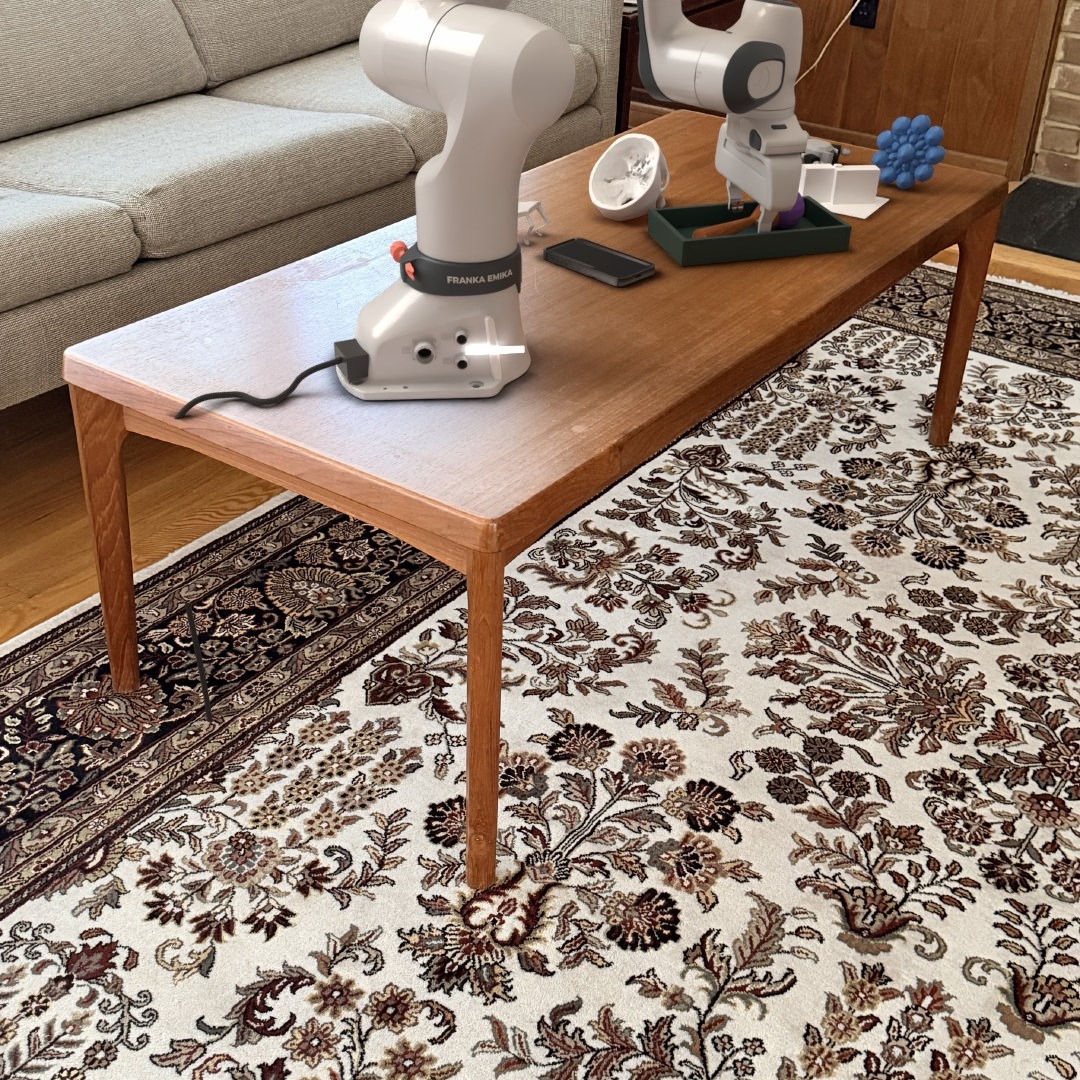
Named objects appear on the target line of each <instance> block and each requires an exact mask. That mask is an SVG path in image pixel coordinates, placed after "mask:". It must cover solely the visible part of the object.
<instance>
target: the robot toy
mask: <svg viewBox="0 0 1080 1080" xmlns="http://www.w3.org/2000/svg"><path fill="white" fill-rule="evenodd" d="M802 130H803V129H802ZM803 132H804V133H805V135H806V137H807V147H806V151H805V152H800V153H799V154H800V156H801V159H802V164H831V165H832V166H834V164H838V162H839V160H840V156H841V155H842V156H844V157H849V156H851V150H850V149H849V148H842V147H843V146H842V145H841V144H835V143H831V142H830V141H826V140H823V139H818V138H814V137H811V135H810V134H809V132H808V131H806V130H803Z"/></svg>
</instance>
